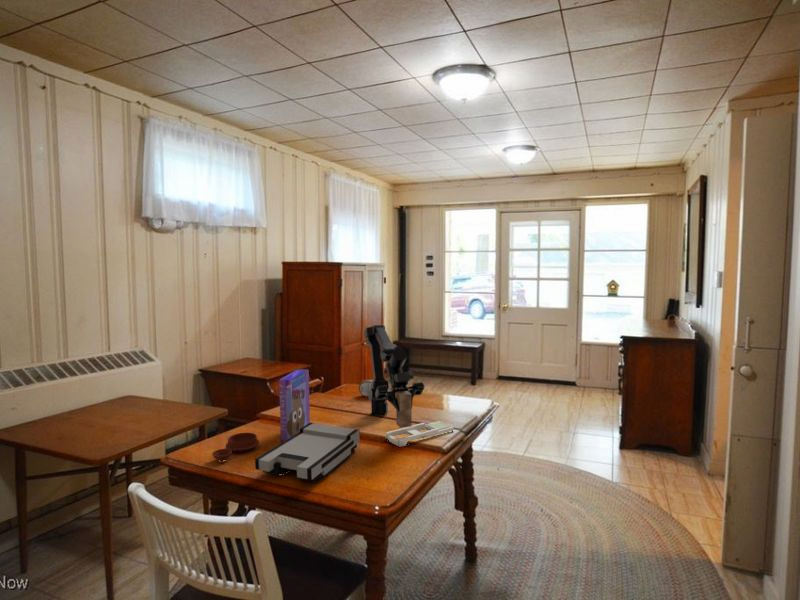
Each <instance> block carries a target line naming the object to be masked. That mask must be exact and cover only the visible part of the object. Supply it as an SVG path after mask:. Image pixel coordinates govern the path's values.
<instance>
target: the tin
mask: <svg viewBox="0 0 800 600" xmlns="http://www.w3.org/2000/svg"><path fill="white" fill-rule="evenodd" d="M372 381H373V379H363V380H361V382H359V383H360V384H359V385H358V391H359V393H360V395H361V396H363V397H367V398H369V397H368V394H369V391H370V389H371V384H372Z"/></svg>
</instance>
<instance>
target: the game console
mask: <svg viewBox="0 0 800 600" xmlns="http://www.w3.org/2000/svg"><path fill="white" fill-rule="evenodd" d="M360 441H361V440H360V429H359V428H358V429H357V428H352V427H343V426H335V425H330V424H329V425H328V424H321V423H316V422H310V423H309V424H307V425H305V426H304V427H302V428H300V432H299V433H297V434H296V435H294V436H292V437H291V438H289V439H287V440H286V441H282V442H281V443H279V444H278V445H276V446H274V447H273V448H270V449H269V450H268V451H266V452H264V453H263V454H261V455H259V456H258V457H256V458H255V459H254V464H255V466H254V467H255V469H254V470H257V471H261V472H262V473H266V474H269V473H270V474H271V475H274V474H275V475H274V476H279V474H282V475H283V474H285V473H286V472H288V471H290V470H291V471H292V470H293V471H296V478H297V480H301V481H305V480H306V482H310V481H312V483H315V482H314V481H316V482H319V481H320V480H321V479H322V480H324V479H325V478H326V477H327V476H328V474H329V473H330V474H331V473H332V472H333V471H335V470H336V469H337V468H338V467H339V466H341V465H342V464H343V463H344V462H345V461H347V460H348V459H349V458H350V457H352V456H353V455H354V454H355V453H356V451H355V450H356V449H357V448H358V444H359V443H360ZM291 471H290V472H291ZM288 473H289V472H288ZM270 474H269V475H270ZM330 474H329V475H330ZM285 475H286V474H285ZM325 476H326V477H325ZM324 477H325V478H324ZM323 478H324V479H323ZM322 480H321V481H322ZM321 481H320V482H321ZM320 482H319V483H320Z"/></svg>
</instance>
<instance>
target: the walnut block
mask: <svg viewBox="0 0 800 600" xmlns="http://www.w3.org/2000/svg"><path fill="white" fill-rule="evenodd" d="M395 394H396V399H397V402H398V405H399V409H400V411H397V410H396V412H395V414H396V426H398V428H399V429H402V428H405V427H412V426H413V424H412V423H413V422H412V421H413V420H412V410H411V393H409V392H408V391H403V392H396V393H395Z"/></svg>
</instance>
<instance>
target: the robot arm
mask: <svg viewBox="0 0 800 600" xmlns="http://www.w3.org/2000/svg"><path fill="white" fill-rule="evenodd" d="M363 336H364V338H365V342H366V343H367V345H368V346H369V348H370V355H371V356H370V359H371V365H372V366H371V367H372V374H373V375H372V377H373V379H372V380H373V381H372V384H371V389H370V391H369V394H368V397H367V398H368V401H369V402H370V403H371V412H370V415H371V416H379V417H384V416H386V415H387V413H388V412H389V410H388V409H389V407H388V406H389V403H390V404H391V405H392V406H393V407H394V408H395V409H396V410H397V411H400V409H399V405H398V402H397V399H396V392H403V391H408V392H409V393H411V411H412V409H413V398H414V397H415V396H420V395H422V394H423V392H424V390H425V387H426V386H425V384H424V383H423V382H422V381H418V382H413V383H412V385H411V386H408V384H409V382H410V381H411V380H413V379H414V373H413V370H407V371H406V372H403V369H402V367H403V366H404V364H405V362H406V361H407V357H408V353H407V352H406V350H404V349H402V348H401V346H399V345H398V346H397V345H396V344H395V343H393V342H392V341H391V339H390V337H389V335H388V333H387V330H386V327H385V324H384V325H383V324H374V325H372V326H369V327H366V328H365V329H364V330H363ZM383 363H387V364H386V371H387V375H388V379H389V380H386V378H385V375H384V367H383ZM389 384H390V385H389ZM390 386H391V387H390ZM387 401H388V402H389V403H388V402H387Z"/></svg>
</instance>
